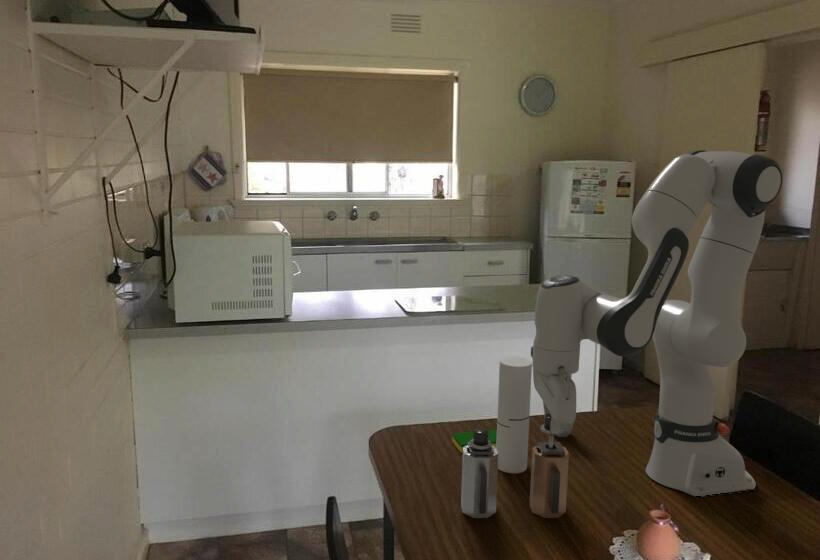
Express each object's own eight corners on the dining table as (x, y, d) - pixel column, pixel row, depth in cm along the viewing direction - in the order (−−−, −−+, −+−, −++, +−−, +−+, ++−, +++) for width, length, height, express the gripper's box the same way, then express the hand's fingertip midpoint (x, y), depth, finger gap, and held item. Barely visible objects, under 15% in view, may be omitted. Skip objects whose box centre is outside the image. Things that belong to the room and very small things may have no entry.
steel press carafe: (492, 500, 137) (494, 439, 135) (499, 524, 128) (502, 459, 126) (460, 500, 137) (461, 439, 135) (464, 524, 128) (466, 459, 126)
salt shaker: (575, 432, 172) (578, 385, 169) (568, 440, 167) (571, 391, 165) (553, 427, 175) (556, 380, 172) (546, 435, 170) (548, 386, 168)
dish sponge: (451, 442, 166) (451, 433, 166) (502, 437, 170) (503, 428, 169) (460, 454, 159) (461, 445, 159) (514, 448, 163) (514, 439, 162)
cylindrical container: (526, 474, 149) (531, 367, 144) (494, 471, 150) (498, 365, 145) (527, 460, 155) (532, 358, 151) (496, 457, 157) (500, 355, 152)
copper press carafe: (559, 500, 138) (563, 439, 135) (571, 524, 129) (575, 459, 126) (527, 500, 137) (530, 439, 135) (536, 524, 128) (540, 459, 126)
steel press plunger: (488, 484, 135) (490, 427, 133) (491, 495, 131) (493, 436, 129) (466, 484, 135) (468, 427, 133) (469, 495, 131) (471, 436, 129)
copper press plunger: (557, 470, 135) (560, 412, 133) (562, 480, 131) (566, 421, 128) (535, 470, 135) (538, 412, 133) (540, 480, 131) (543, 421, 128)
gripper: (587, 377, 118) (582, 449, 121) (559, 345, 138) (555, 408, 141) (552, 376, 118) (548, 449, 121) (529, 345, 138) (525, 408, 141)
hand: (551, 427), depth 131 cm, fingers closed on copper press plunger, 3 cm apart
